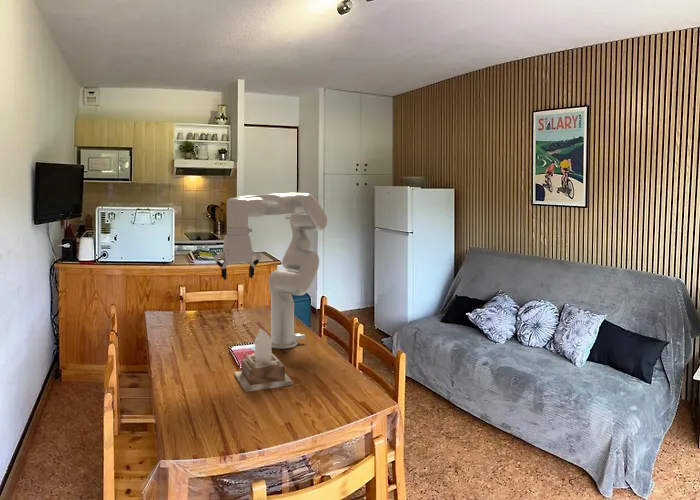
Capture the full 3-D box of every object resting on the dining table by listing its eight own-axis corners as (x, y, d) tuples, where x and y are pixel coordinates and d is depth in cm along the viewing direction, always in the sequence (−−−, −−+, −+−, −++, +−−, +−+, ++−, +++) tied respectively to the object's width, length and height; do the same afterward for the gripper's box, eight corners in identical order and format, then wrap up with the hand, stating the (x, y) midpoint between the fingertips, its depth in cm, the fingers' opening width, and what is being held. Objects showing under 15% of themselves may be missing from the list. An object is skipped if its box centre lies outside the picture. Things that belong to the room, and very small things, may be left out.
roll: (275, 327, 182) (265, 331, 177) (274, 361, 183) (265, 366, 178) (260, 325, 184) (250, 329, 179) (260, 358, 186) (251, 363, 181)
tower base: (278, 369, 193) (278, 348, 192) (292, 384, 179) (292, 362, 178) (234, 375, 186) (234, 354, 185) (245, 391, 172) (245, 369, 171)
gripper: (258, 230, 200) (258, 275, 202) (211, 231, 193) (212, 278, 195) (263, 232, 193) (263, 278, 195) (215, 233, 186) (215, 281, 188)
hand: (237, 278), depth 195 cm, fingers open, 9 cm apart
